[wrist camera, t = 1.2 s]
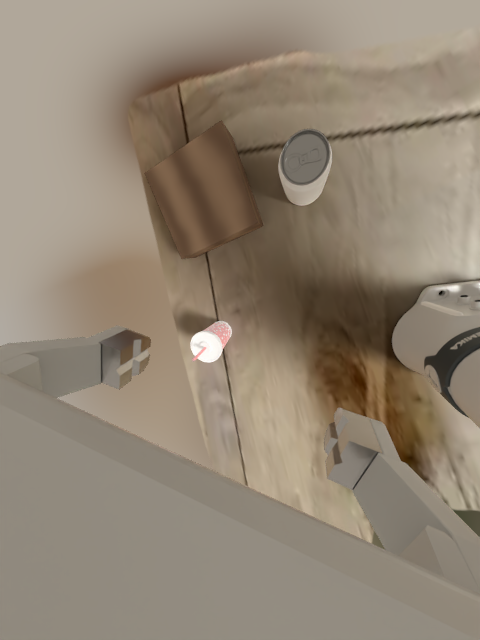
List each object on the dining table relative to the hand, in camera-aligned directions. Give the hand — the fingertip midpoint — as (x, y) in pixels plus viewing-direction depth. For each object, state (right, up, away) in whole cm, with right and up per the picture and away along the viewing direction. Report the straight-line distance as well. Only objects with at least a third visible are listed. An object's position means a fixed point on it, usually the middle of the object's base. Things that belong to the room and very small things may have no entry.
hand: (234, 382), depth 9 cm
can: (+11, +25, +28) cm, 39 cm away
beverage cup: (-4, 0, +40) cm, 40 cm away
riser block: (-5, +24, +33) cm, 41 cm away
